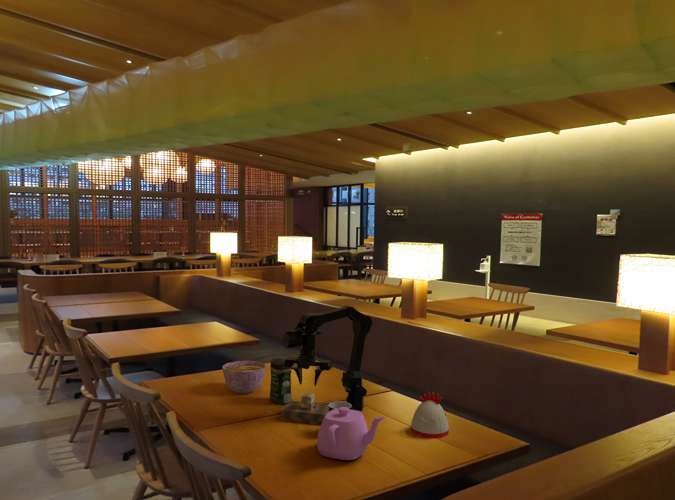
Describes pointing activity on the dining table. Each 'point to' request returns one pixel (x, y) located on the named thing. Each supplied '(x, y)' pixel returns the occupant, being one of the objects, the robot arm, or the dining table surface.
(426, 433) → the kitchen timer
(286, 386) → the coffee jar
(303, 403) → the wooden post
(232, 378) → the bowl of food
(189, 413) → the dining table surface
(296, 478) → the dining table surface
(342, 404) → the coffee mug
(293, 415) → the grey block with hole
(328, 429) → the teapot
